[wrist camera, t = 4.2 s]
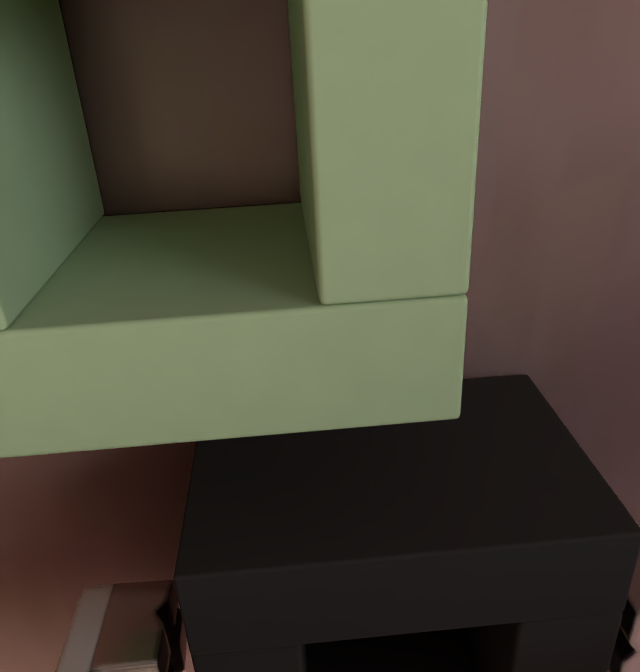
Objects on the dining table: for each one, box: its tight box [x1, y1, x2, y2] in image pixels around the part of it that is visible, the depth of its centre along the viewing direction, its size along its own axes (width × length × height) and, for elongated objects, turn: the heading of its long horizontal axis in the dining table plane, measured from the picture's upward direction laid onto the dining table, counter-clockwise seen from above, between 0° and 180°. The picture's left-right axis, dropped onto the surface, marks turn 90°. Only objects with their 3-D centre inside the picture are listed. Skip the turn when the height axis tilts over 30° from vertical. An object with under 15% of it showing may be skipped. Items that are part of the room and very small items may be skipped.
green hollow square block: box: [0, 0, 488, 458], centre depth 7 cm, size 6×6×4 cm
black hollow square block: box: [173, 375, 640, 672], centre depth 11 cm, size 6×6×4 cm
